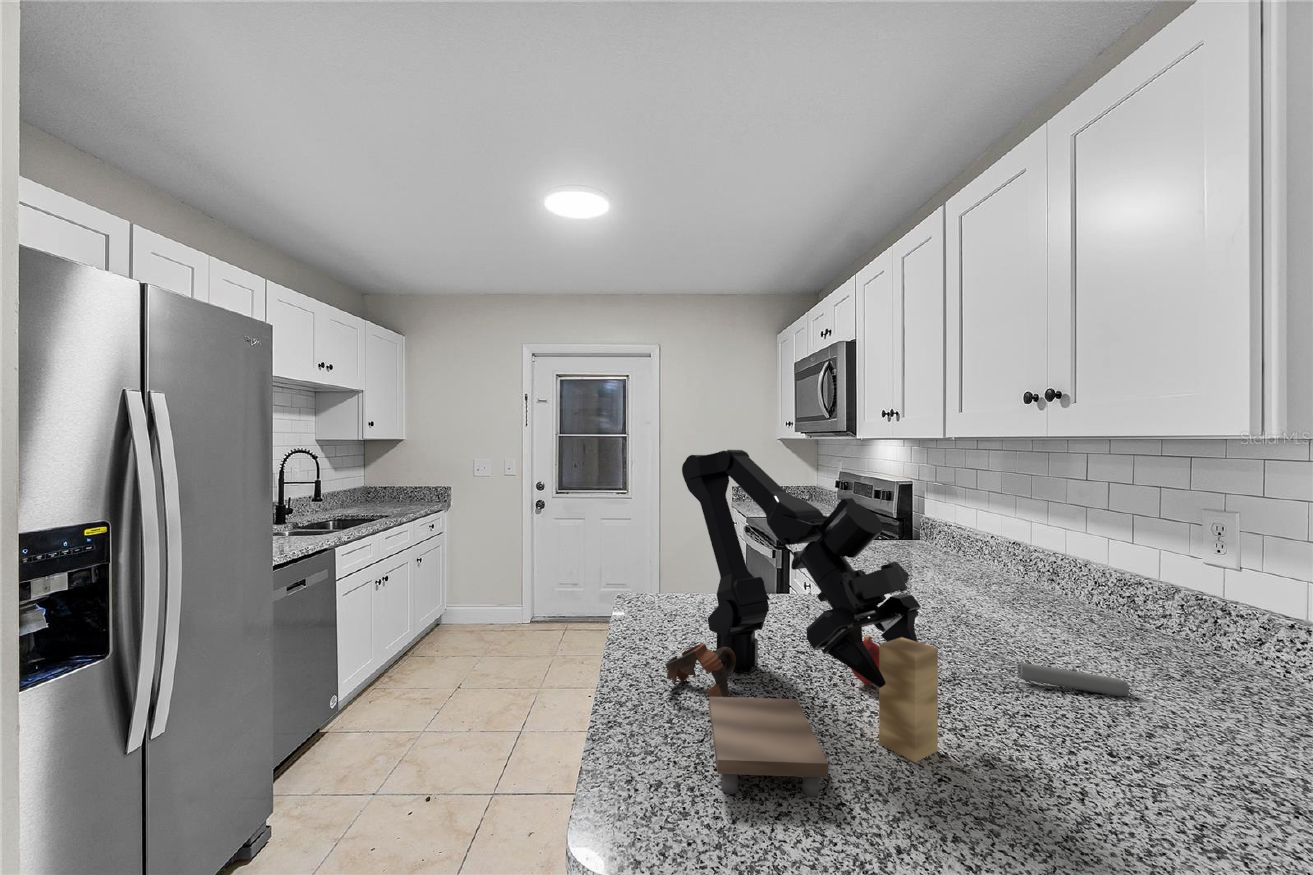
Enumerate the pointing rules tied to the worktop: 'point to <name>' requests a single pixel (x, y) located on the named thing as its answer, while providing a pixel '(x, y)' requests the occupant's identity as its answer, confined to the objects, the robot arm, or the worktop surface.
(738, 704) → the footed wooden board
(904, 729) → the wooden block
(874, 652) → the onion
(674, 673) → the brown jagged curved piece
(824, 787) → the worktop surface
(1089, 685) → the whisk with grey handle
